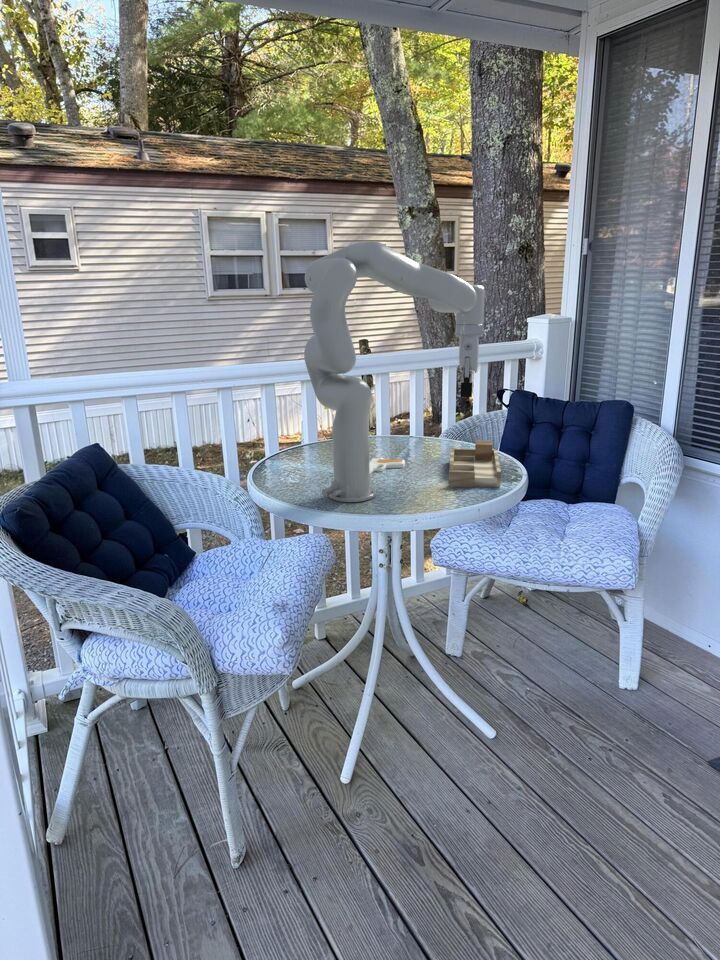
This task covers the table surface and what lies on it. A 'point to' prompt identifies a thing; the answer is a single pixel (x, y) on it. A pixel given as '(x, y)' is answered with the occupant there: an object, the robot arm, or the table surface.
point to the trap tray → (473, 470)
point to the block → (483, 450)
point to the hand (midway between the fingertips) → (466, 396)
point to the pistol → (385, 464)
